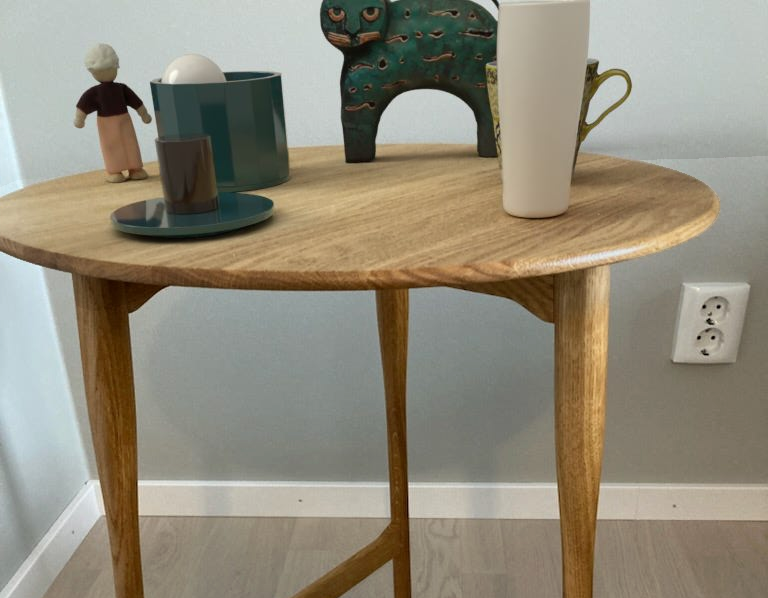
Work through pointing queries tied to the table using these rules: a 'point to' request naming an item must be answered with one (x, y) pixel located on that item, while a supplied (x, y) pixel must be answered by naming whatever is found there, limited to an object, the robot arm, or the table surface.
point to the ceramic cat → (409, 61)
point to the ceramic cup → (589, 90)
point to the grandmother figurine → (112, 115)
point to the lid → (190, 196)
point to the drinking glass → (540, 101)
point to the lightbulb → (192, 70)
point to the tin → (231, 125)
